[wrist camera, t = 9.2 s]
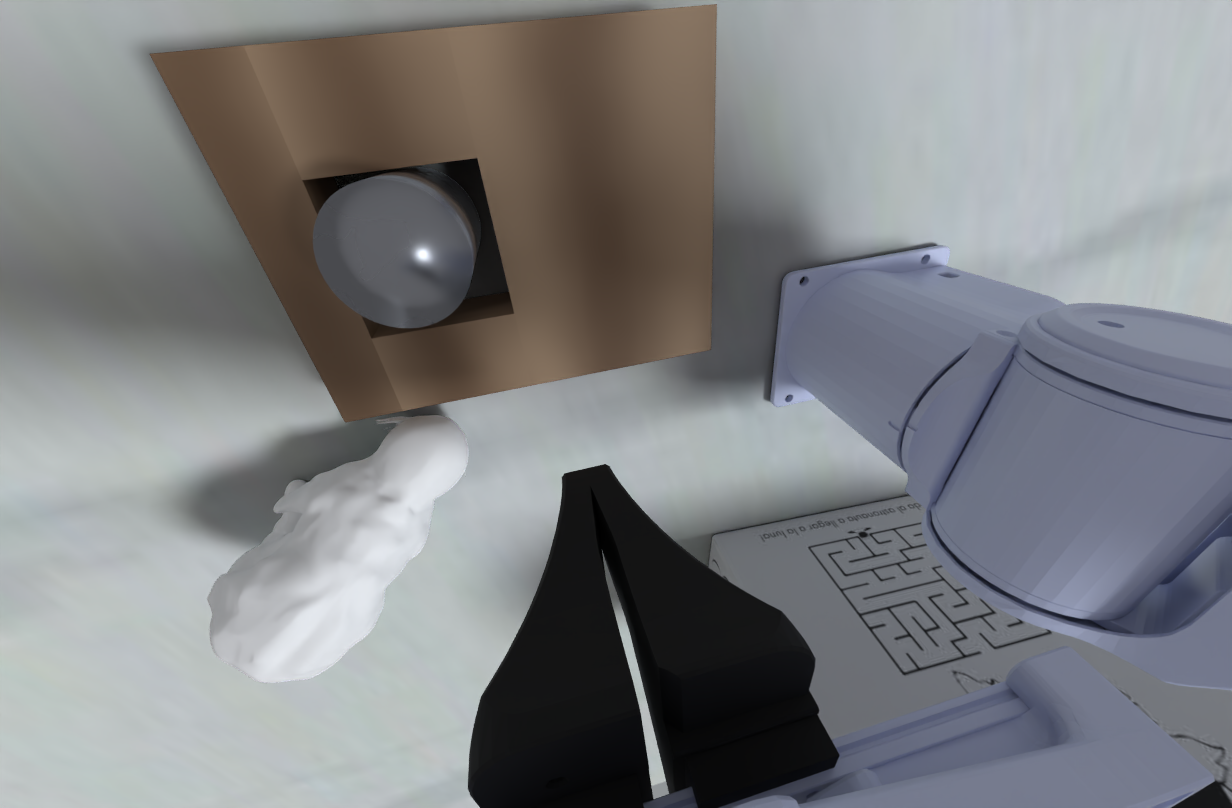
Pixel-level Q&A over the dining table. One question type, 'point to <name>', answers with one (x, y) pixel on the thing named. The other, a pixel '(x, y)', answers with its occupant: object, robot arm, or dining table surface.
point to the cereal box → (928, 630)
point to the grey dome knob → (399, 246)
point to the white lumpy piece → (334, 554)
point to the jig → (513, 180)
